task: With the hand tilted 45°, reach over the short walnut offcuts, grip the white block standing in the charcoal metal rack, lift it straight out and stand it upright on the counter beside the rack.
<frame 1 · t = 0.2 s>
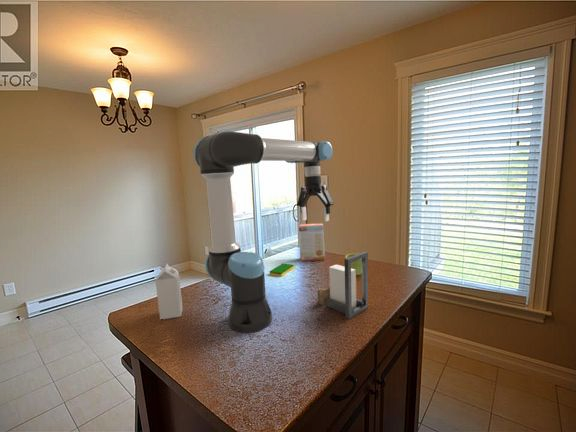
hand: (315, 220, 134), 27 cm above the kitchen island, tool pointing down, fingers open, 13 cm apart
dish sponge: (282, 272, 146), on the kitchen island
plant pot: (355, 273, 138), on the kitchen island
cracker box: (312, 259, 164), on the kitchen island
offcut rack: (343, 306, 105), on the kitchen island
white block: (343, 306, 105), resting in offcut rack
milk carton: (171, 314, 106), on the kitchen island
offcut stack: (327, 300, 110), on the kitchen island
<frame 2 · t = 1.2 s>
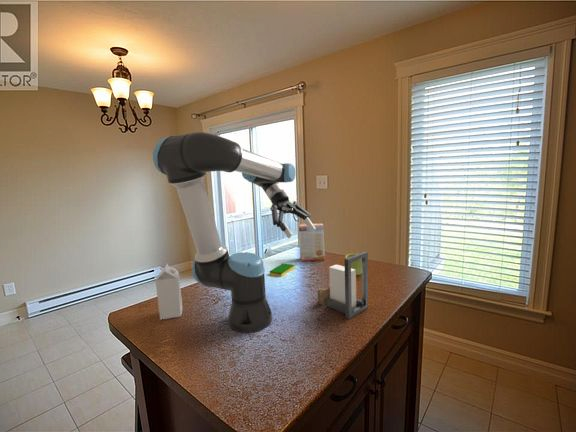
hand: (302, 233, 116), 25 cm above the kitchen island, tool tilted 45°, fingers open, 13 cm apart
nothing on the kitchen island moved.
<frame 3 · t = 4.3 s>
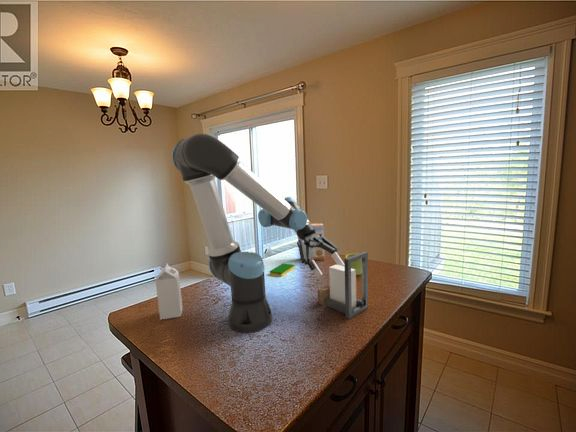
hand: (331, 271, 110), 12 cm above the kitchen island, tool tilted 45°, fingers open, 13 cm apart
nothing on the kitchen island moved.
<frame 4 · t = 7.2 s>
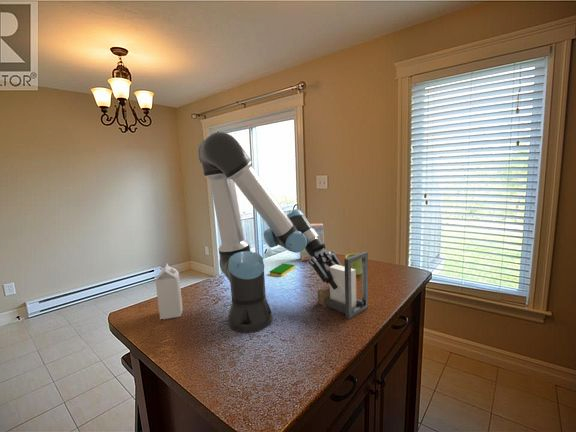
hand: (346, 293, 103), 6 cm above the kitchen island, tool tilted 45°, fingers closed on white block, 4 cm apart
white block: (343, 306, 105), resting in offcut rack, touching gripper
everything else where it was.
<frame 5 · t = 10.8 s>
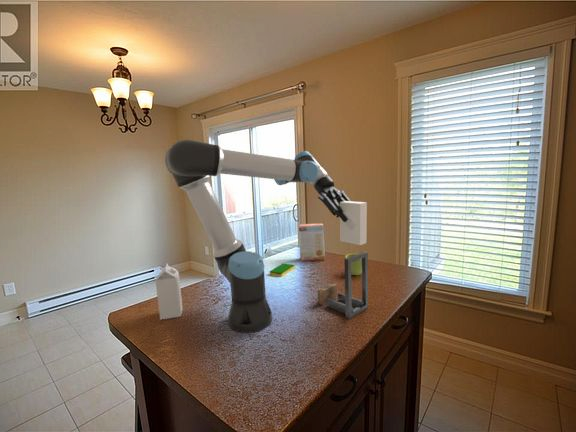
hand: (357, 226, 103), 30 cm above the kitchen island, tool tilted 45°, fingers closed on white block, 4 cm apart
white block: (352, 242, 105), point 24 cm above the kitchen island, touching gripper
everything else where it was.
when the fingers open (7 cm above the kitchen island, at t = 14.3 s): white block moves 1 cm, on the kitchen island.
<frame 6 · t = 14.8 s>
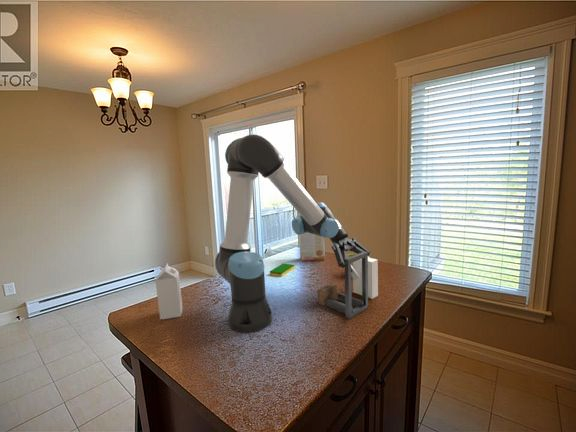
hand: (366, 274, 113), 8 cm above the kitchen island, tool tilted 45°, fingers open, 12 cm apart
white block: (365, 293, 115), on the kitchen island
everything else where it was.
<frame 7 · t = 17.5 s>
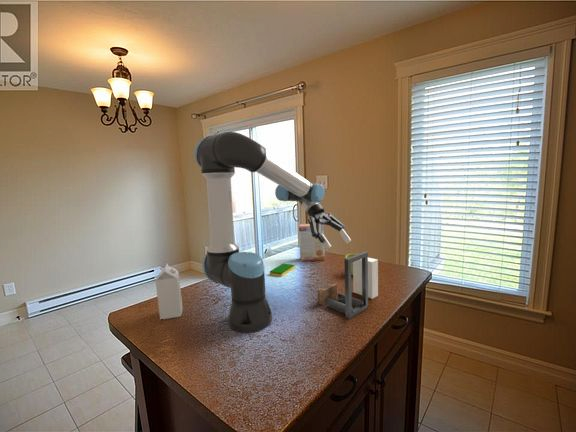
hand: (339, 245, 121), 19 cm above the kitchen island, tool tilted 45°, fingers open, 13 cm apart
nothing on the kitchen island moved.
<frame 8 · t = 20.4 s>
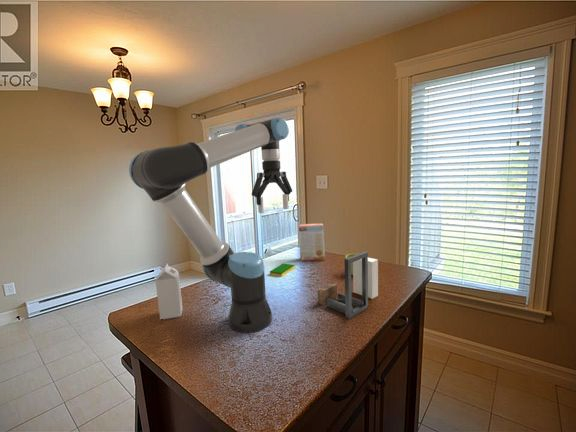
hand: (273, 210, 120), 35 cm above the kitchen island, tool pointing down, fingers open, 13 cm apart
nothing on the kitchen island moved.
at the end: white block inside the target area (0.2 cm from its centre), on the kitchen island; white block tilted 0°; the gripper is holding nothing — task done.
